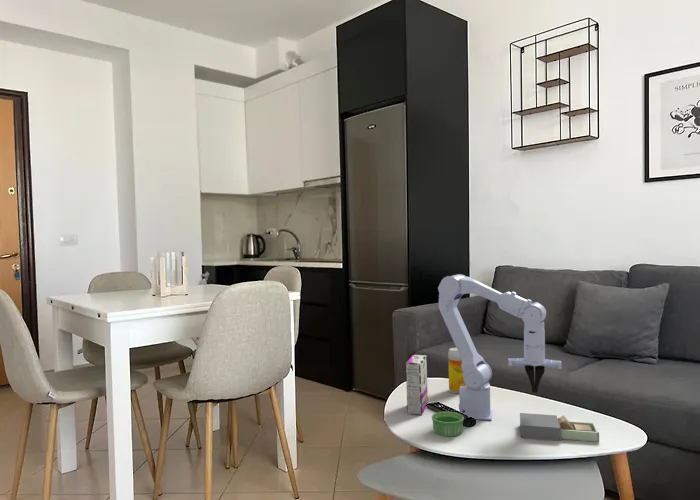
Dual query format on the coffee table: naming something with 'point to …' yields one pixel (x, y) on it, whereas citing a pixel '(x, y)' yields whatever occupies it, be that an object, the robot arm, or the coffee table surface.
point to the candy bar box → (416, 384)
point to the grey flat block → (540, 426)
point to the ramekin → (447, 423)
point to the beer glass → (455, 370)
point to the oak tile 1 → (565, 423)
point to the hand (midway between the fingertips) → (534, 391)
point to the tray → (581, 433)
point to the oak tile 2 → (582, 427)
